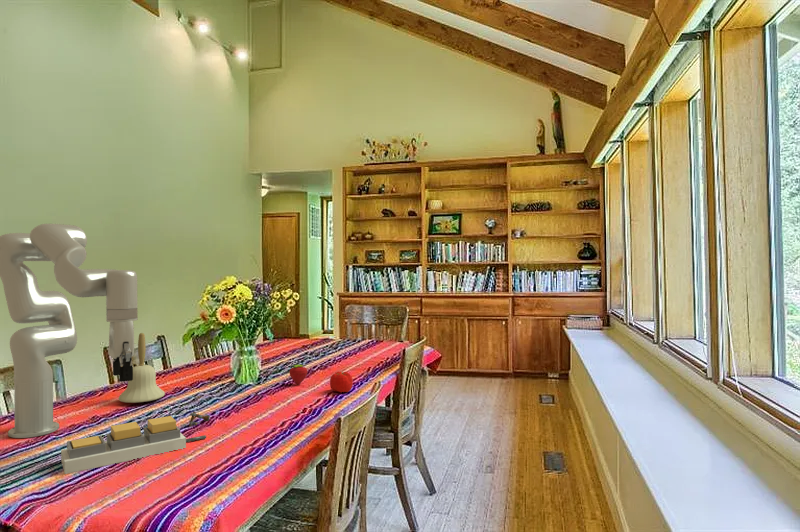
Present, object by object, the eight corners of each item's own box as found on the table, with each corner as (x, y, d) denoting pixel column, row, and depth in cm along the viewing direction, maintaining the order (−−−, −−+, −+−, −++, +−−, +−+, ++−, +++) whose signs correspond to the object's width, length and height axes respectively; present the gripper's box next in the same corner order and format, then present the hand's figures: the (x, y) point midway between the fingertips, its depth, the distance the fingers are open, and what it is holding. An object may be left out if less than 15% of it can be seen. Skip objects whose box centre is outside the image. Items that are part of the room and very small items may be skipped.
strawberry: (306, 386, 212) (306, 362, 212) (288, 386, 212) (288, 362, 212) (308, 383, 218) (308, 359, 218) (290, 383, 218) (290, 359, 218)
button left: (71, 449, 133) (71, 440, 133) (98, 444, 136) (98, 435, 136) (73, 456, 128) (73, 447, 128) (101, 450, 132) (101, 442, 132)
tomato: (342, 395, 198) (342, 376, 198) (325, 392, 204) (325, 373, 204) (358, 390, 206) (358, 372, 206) (342, 387, 211) (342, 369, 211)
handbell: (109, 403, 187) (108, 334, 187) (146, 393, 200) (146, 329, 200) (136, 408, 180) (136, 337, 180) (173, 398, 193) (173, 331, 193)
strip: (61, 461, 133) (61, 441, 133) (201, 433, 154) (201, 416, 154) (64, 474, 125) (64, 452, 125) (211, 443, 146) (211, 425, 146)
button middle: (110, 434, 138) (110, 425, 138) (135, 429, 142) (135, 421, 142) (114, 440, 133) (114, 431, 133) (140, 435, 137) (140, 427, 137)
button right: (147, 427, 144) (147, 419, 144) (170, 423, 147) (170, 415, 147) (152, 433, 139) (152, 425, 139) (176, 429, 142) (176, 421, 142)
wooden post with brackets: (185, 425, 160) (189, 410, 161) (202, 428, 166) (205, 414, 168) (189, 426, 159) (194, 411, 161) (206, 429, 166) (210, 415, 167)
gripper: (101, 313, 146) (102, 374, 146) (111, 318, 132) (112, 385, 132) (131, 312, 150) (131, 370, 150) (144, 316, 137) (144, 381, 137)
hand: (122, 377), depth 141 cm, fingers open, 9 cm apart
